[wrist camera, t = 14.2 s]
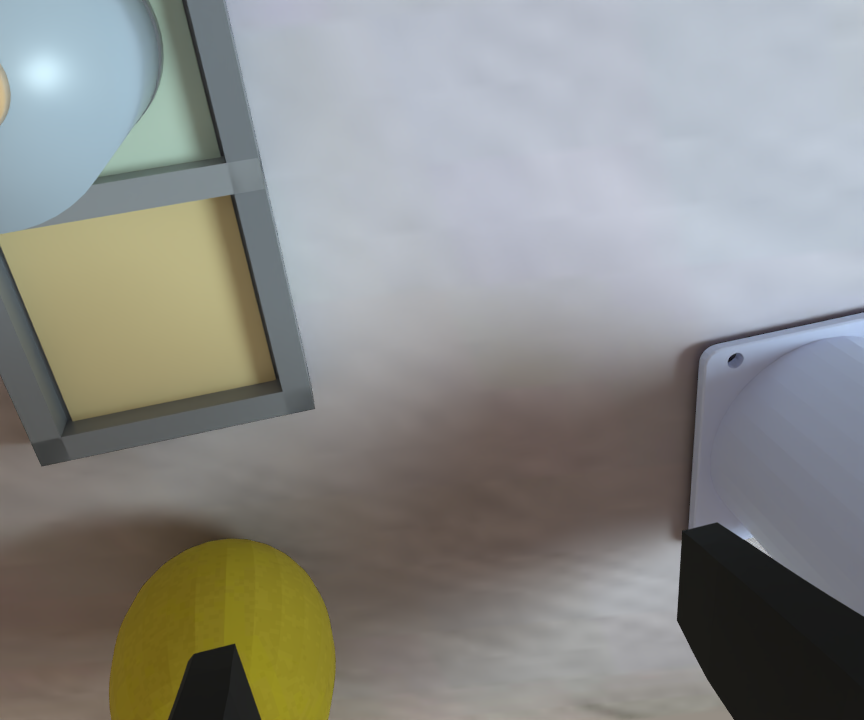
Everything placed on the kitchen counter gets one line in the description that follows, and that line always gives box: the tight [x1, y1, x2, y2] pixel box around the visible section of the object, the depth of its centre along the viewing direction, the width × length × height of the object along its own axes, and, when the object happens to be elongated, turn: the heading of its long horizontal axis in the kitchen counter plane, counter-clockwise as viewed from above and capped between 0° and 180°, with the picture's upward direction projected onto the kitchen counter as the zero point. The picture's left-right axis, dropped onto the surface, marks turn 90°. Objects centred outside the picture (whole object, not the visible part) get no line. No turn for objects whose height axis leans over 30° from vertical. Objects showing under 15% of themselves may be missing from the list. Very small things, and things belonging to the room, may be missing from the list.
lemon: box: [109, 539, 336, 720], centre depth 19 cm, size 6×6×8 cm
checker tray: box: [0, 0, 315, 466], centre depth 17 cm, size 7×12×1 cm, turn 7°
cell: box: [0, 0, 164, 234], centre depth 12 cm, size 4×4×7 cm
